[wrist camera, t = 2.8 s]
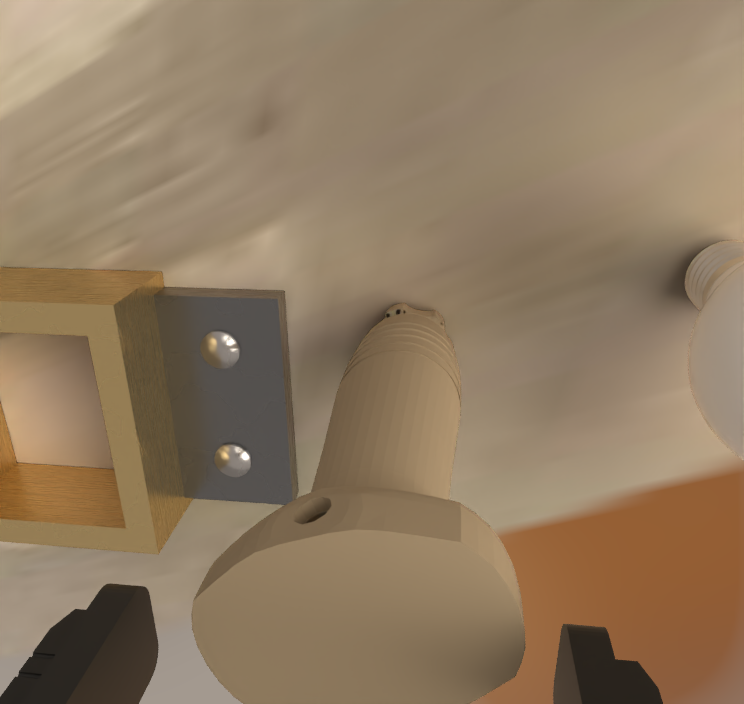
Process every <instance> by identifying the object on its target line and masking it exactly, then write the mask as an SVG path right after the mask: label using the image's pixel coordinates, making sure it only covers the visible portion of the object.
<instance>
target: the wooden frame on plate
mask: <svg viewBox="0 0 744 704" xmlns="http://www.w3.org/2000/svg"><path fill="white" fill-rule="evenodd" d="M0 332H4V333H29V334H53V335H78V336H87V337H88V342H89V347H90V352H91V357H92V362H93V367H94V372H95V377H96V382H97V387H98V391H99V396H100V401H101V406H102V411H103V416H104V421H105V426H106V431H107V436H108V441H109V446H110V451H111V456H112V461H113V466H114V469H99V468H84V467H69V466H54V465H39V464H24V463H17V462H16V458H15V454H14V451H13V447H12V443H11V439H10V436H9V432H8V428H7V425H6V421H5V417H4V414H3V410H2V406H1V403H0V541H3V542H16V543H28V544H40V545H52V546H64V547H76V548H88V549H100V550H112V551H124V552H136V553H148V554H159V553H160V551H161V549H162V548H163V546H164V545H165V543H166V541H167V540H168V538H169V537H170V535H171V533H172V532H173V530H174V529H175V527H176V525H177V524H178V522H179V521H180V519H181V517H182V516H183V514H184V512H185V511H186V509H187V508H188V506H189V504H190V503H191V501H192V500H193V498H197V499H211V500H225V501H239V502H253V503H267V504H281V505H286V504H288V503H290V502H292V501H293V500H295V499H296V496H297V494H298V481H297V466H296V452H295V437H294V422H293V408H292V393H291V379H290V364H289V350H288V335H287V321H286V306H285V291H275V290H242V289H209V288H176V287H164V283H163V276H162V272H156V271H119V270H83V269H47V268H10V267H0Z"/></svg>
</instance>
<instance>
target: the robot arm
mask: <svg viewBox="0 0 744 704" xmlns="http://www.w3.org/2000/svg"><path fill="white" fill-rule="evenodd" d="M157 658H158V639H157V634H156V628H155V623H154V617H153V612H152V606H151V601H150V595H149V592H148V589H147V588H146V587H143V586H131V585H119V584H106V585H105V586H103V587H102V588H101V590H100V591H99V592H98V594H97V595H96V597H95V598H94V600H93V601H92V603H91V604H90V605H89V607H88V608H87V610H80V609H75V610H74V611H72V612H71V613H70V614H69V615H67V616H66V617H65V618H63V619H62V620H61V621H60V622H58V623H57V624H56V625H55V626H53V627H52V628H51V629H50V630H49V631H48V633H47V634H46V635H45V637H44V638H43V640H42V641H41V642H40V644H39V645H38V646H37V648H36V649H35V650H34V652H33V656H32V657H29V659H28V660H27V661H26V663H25V664H24V665H23V667H22V668H21V670H20V671H19V675H18V677H15V678H14V679H13V680H12V682H11V683H10V685H9V686H8V687H7V689H6V690H5V691H4V693H3V694H2V695H1V697H0V704H139V702H140V700H141V698H142V696H143V694H144V692H145V690H146V688H147V686H148V684H149V682H150V680H151V678H152V676H153V673H154V670H155V667H156V663H157ZM553 697H554V698H553V700H554V704H663V702H662V699H661V695H660V692H659V689H658V687H657V686H656V685H655V683H654V682H653V681H652V679H651V678H650V677H649V676H648V674H647V673H646V672H645V670H644V669H643V668H642V667H641V665H640V664H639V663H638V662H637V661H626V660H615V656H614V653H613V649H612V645H611V642H610V638H609V634H608V632H607V630H606V628H605V627H595V626H583V625H572V624H563V626H562V630H561V636H560V643H559V650H558V658H557V665H556V672H555V680H554V692H553Z"/></svg>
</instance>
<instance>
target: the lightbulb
mask: <svg viewBox="0 0 744 704" xmlns="http://www.w3.org/2000/svg"><path fill="white" fill-rule="evenodd" d="M685 289H686V293H687V295H688V297H689V299H690V300H691V302H692V303H693V304H694V305H695V306H696V307H697V308H698V309H699V310H700V313H699V315H698V317H697V319H696V322H695V324H694V327H693V330H692V334H691V338H690V342H689V349H688V374H689V381H690V386H691V390H692V393H693V396H694V399H695V402H696V404H697V406H698V409H699V411H700V413H701V414H702V416H703V418H704V420H705V421H706V423H707V424H708V426H709V427H710V429H711V430H712V431H713V433H714V434H715V435H716V436H717V437H718V438H719V440H720V441H721V442H722V443H723V444H724V445H725V446H726V447H727V448H729V449H730V450H731V451H732V452H733V453H734V454H736V455H737V456H738V457H739V458H741V459H742V460H743V461H744V241H738V240H727V241H721V242H718V243H715V244H713V245H710V246H709V247H707V248H705V249H704V250H702V251H701V252H700V253H699V254H698V255H697V256H696V257H695V258H694V259H693V261H692V262H691V264H690V265H689V267H688V269H687V272H686V276H685Z"/></svg>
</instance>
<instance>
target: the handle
mask: <svg viewBox="0 0 744 704" xmlns="http://www.w3.org/2000/svg"><path fill="white" fill-rule="evenodd" d="M444 327H445V324H444V319H443V317H442V316H441V314H440V313H438V312H437V311H436V310H432V311H422V310H417V309H413V308H411V307H409V306H408V305H407V304H406V303H400V304H396V305H394V306H392V307H391V308H389V309H388V310H387V312H386V314H385V318H384V320H382V321H381V322H379V323H378V324H377V325H375V326H374V327H373V328H372V329H371V330H370V331H369V333H368V334H367V335H366V336H365V337H364V339H363V340H362V342H361V343H360V345H359V346H358V348H357V349H356V351H355V353H354V355H353V356H352V358H351V360H350V362H349V364H348V366H347V368H346V371H345V373H344V376H343V378H342V381H341V383H340V386H339V389H338V391H337V395H336V399H335V403H334V407H333V411H332V415H331V419H330V423H329V427H328V431H327V435H326V439H325V443H324V448H323V451H322V455H321V458H320V462H319V466H318V469H317V473H316V476H315V480H314V484H313V487H312V491H311V493H309V494H306V495H304V496H301V497H299V498H297V499H295V500H293V501H292V502H290V503H288V504H286V505H285V506H283V507H281V508H279V509H278V510H276V511H275V512H273V513H272V514H270V515H269V516H267V517H266V518H264V519H263V520H261V521H260V522H259V523H257V524H256V525H255V526H253V527H252V528H251V529H250V530H248V531H247V532H246V533H245V534H243V535H242V536H241V537H240V538H239V539H238V540H237V541H236V542H234V543H233V544H232V545H231V546H230V547H229V548H228V549H227V550H226V551H225V552H224V553H223V554H222V555H221V556H220V557H219V558H218V559H217V560H216V561H215V562H214V563H213V565H212V566H211V568H210V569H209V571H208V573H207V575H206V577H205V579H204V581H203V582H202V584H201V586H200V588H199V590H198V592H197V594H196V596H195V598H194V601H193V608H192V630H193V633H194V637H195V640H196V643H197V646H198V648H199V650H200V652H201V654H202V656H203V658H204V660H205V662H206V664H207V666H208V667H209V668H210V670H211V671H212V672H213V674H214V675H215V677H216V678H217V679H218V681H219V682H220V683H221V684H222V685H223V686H224V687H225V688H226V689H227V690H228V691H229V692H230V693H231V694H232V695H233V696H234V697H235V698H236V699H238V700H239V701H240V702H242V703H243V704H470V703H471V702H473V701H475V700H477V699H478V698H480V697H482V696H484V695H486V694H487V693H489V692H490V691H492V690H494V689H496V688H497V687H499V686H500V685H502V684H504V683H505V682H507V681H509V680H511V679H512V678H514V677H515V676H516V674H517V671H518V669H519V667H520V665H521V663H522V659H523V655H524V651H525V631H524V630H525V629H524V620H523V610H522V602H521V594H520V589H519V586H518V582H517V578H516V574H515V570H514V567H513V564H512V562H511V560H510V558H509V556H508V554H507V552H506V550H505V548H504V546H503V543H502V542H501V540H500V539H499V538H498V536H497V535H496V534H495V532H494V531H493V530H492V528H491V527H490V526H489V525H488V524H487V523H486V522H485V521H484V520H483V519H481V518H480V517H479V516H478V515H477V514H476V513H474V512H473V511H471V510H470V509H468V508H467V507H465V506H464V505H462V504H461V503H459V502H455V501H451V500H449V493H450V484H451V476H452V469H453V462H454V456H455V449H456V442H457V435H458V428H459V422H460V413H461V382H460V374H459V367H458V362H457V358H456V354H455V351H454V346H453V344H452V341H451V340H450V339H449V337H448V336H447V334H446V333H445V329H444Z"/></svg>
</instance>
